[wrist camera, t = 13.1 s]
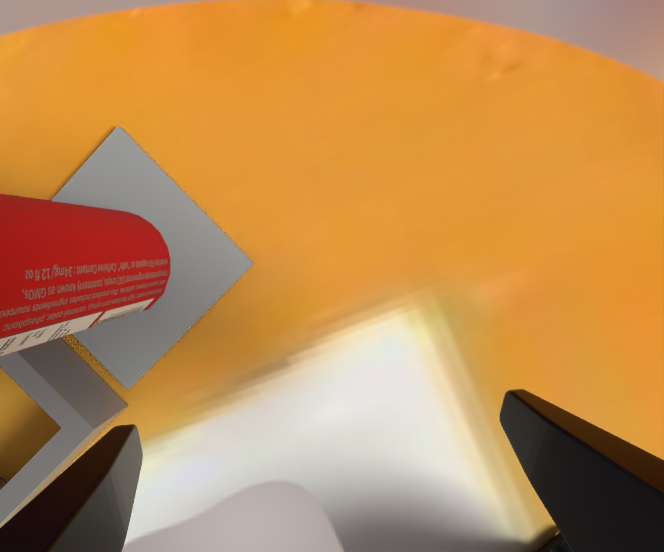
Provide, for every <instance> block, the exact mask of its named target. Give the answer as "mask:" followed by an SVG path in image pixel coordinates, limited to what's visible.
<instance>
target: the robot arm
mask: <svg viewBox="0 0 664 552" xmlns="http://www.w3.org/2000/svg"><path fill="white" fill-rule="evenodd" d="M500 422H501V425H502V427H503V429H504V431H505V433H506V435H507V437H508V439H509V441H510V443H511V445H512V447H513V449H514V452H515V454H516V456H517V458H518V460H519V462H520V464H521V466H522V468H523V470H524V472H525V474H526V475H527V477H528V479H529V481H530V483H531V485H532V486H533V488H534V490H535V491H536V493H537V495H538V496H539V498H540V499H541V501H542V503H543V504H544V506H545V508H546V509H547V511H548V513H549V514H550V516H551V517H552V519H553V521H554V522H555V524H556V526H557V527H558V529H559V531H560V533H559V534H558V535H556V536H555V537H554V538H553V539H551V540H550V541H549V542H548V543H546V544H545V545H544V546H543V547H541V548H540V549H539V550H538V551H536V552H664V460H662V459H660V458H658V457H656V456H654V455H652V454H650V453H648V452H646V451H644V450H642V449H640V448H639V447H637V446H635V445H633V444H631V443H629V442H627V441H625V440H623V439H621V438H619V437H617V436H615V435H613V434H611V433H609V432H607V431H605V430H603V429H601V428H599V427H597V426H595V425H593V424H591V423H589V422H587V421H585V420H583V419H581V418H579V417H577V416H575V415H573V414H571V413H569V412H567V411H565V410H563V409H561V408H559V407H557V406H555V405H553V404H551V403H549V402H547V401H545V400H544V399H542V398H540V397H538V396H536V395H534V394H532V393H530V392H528V391H526V390H523V389H516V390H509V391H507V392H506V393H505V396H504V400H503V403H502V407H501V411H500ZM142 456H143V455H142V448H141V443H140V438H139V433H138V429H137V427H136V425H133V424H131V425H120V426H116V427H114V428H112V429H111V430H110V431H109V432H108V433H107V434H106V435H104V436H103V437H102V438H101V439H100V440H99V441H98V442H97V443H95V444H94V445H93V446H92V447H91V448H90V449H89V450H88V451H86V452H85V453H84V454H83V455H82V456H81V457H80V458H78V459H77V460H76V461H75V462H74V463H73V464H72V465H71V466H69V467H68V468H67V469H66V470H65V471H64V472H63V473H62V474H60V475H59V476H58V477H57V478H56V479H55V480H54V481H52V482H51V483H50V484H49V485H48V486H47V487H46V488H45V489H43V490H42V491H41V492H40V493H39V494H38V495H37V496H36V497H34V498H33V499H32V500H31V501H30V502H29V503H28V504H26V505H25V506H24V507H23V508H22V509H21V510H20V511H19V512H17V513H16V514H15V515H14V516H13V517H12V518H11V519H10V520H8V521H7V522H6V523H5V524H4V525H3V526H2V527H1V528H0V552H122V548H123V545H124V542H125V538H126V535H127V530H128V526H129V521H130V517H131V512H132V507H133V503H134V498H135V493H136V489H137V484H138V479H139V474H140V470H141V465H142Z"/></svg>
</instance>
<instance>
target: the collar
mask: <svg viewBox="0 0 664 552" xmlns="http://www.w3.org/2000/svg"><path fill="white" fill-rule="evenodd" d="M0 367H1V368H2V369H3V370H4V371H5V372H6V373H7V374H8V375H9V376H10V377H11V378H12V379H13V380H14V381H15V382H16V383H17V384H18V385H19V386H20V387H21V388H22V389H23V390H24V391H25V392H26V393H27V394H28V395H29V396H30V397H31V398H32V399H33V400H34V401H35V402H36V403H37V404H38V405H39V406H40V407H41V408H42V409H43V410H44V411H45V412H46V413H47V414H48V415H49V416H50V417H51V418H52V419H53V420H54V421H55V422H56V423H57V424H58V425H59V426H60V427H61V429H60V430H59V431H58V432H57V433H56V434H55V435H54V436H53V437H52V438H51V439H50V440H49V441H48V442H47V443H46V444H45V445H44V446H43V447H42V448H41V449H40V450H39V451H38V452H37V453H36V454H35V455H34V456H33V457H32V458H31V459H30V460H29V461H28V462H27V463H26V464H25V465H24V466H23V468H22V469H21V470H20V471H19V472H18V473H17V474H16V475H15V476H14V477H13V478H12V479H11V480H10V481H9V482H8V483H7V484H6V483H5V482H4V481H3V480H2V479H1V478H0V528H1V527H2V526H3V525H4V524H5V523H6V522H7V521H8V520H10V519H11V518H12V517H13V516H14V515H15V514H16V513H17V512H19V511H20V510H21V509H22V508H23V507H24V506H25V505H26V504H28V503H29V502H30V501H31V500H32V499H33V498H34V497H36V496H37V495H38V494H39V493H40V492H41V491H42V490H43V489H45V488H46V487H47V486H48V485H49V484H50V483H51V482H52V481H53V480H54V479H55V478H56V477H57V476H58V475H59V474H60V473H61V472H62V471H63V470H64V469H65V468H66V467H67V466H68V465H69V464H70V463H71V462H72V461H73V460H74V459H75V458H76V457H77V456H78V455H79V454H80V453H81V452H82V451H83V450H84V449H85V448H86V447H87V446H88V445H89V444H90V443H91V442H92V441H93V440H94V439H95V438H96V437H97V436H98V435H99V434H100V433H101V432H102V431H103V430H104V429H105V428H106V427H107V426H108V425H109V424H110V423H111V422H112V421H113V420H114V419H115V418H116V417H117V416H118V415H119V414H120V413H121V412H122V411H123V410H124V409H125V408H126V407H127V406H128V404H127V403H126V402H125V401H124V400H123V399H122V398H121V397H120V396H119V395H118V394H117V393H116V392H115V391H114V390H113V389H112V388H111V387H110V386H109V385H108V384H107V383H106V382H105V381H104V380H103V379H102V378H101V377H100V376H99V375H98V374H97V373H96V372H95V371H94V370H93V369H92V368H91V367H90V366H89V365H88V364H87V363H86V362H85V361H84V360H83V359H82V358H81V357H80V356H79V355H78V354H77V353H76V352H75V351H74V350H73V349H72V348H71V347H70V346H69V345H68V344H67V343H66V342H65V341H64V340H63V339H62V338H61V337H60V338H56V339H53V340H50V341H47V342H44V343H41V344H38V345H34V346H31V347H28V348H25V349H22V350H19V351H15V352H12V353H9V354H6V355H3V356H0Z"/></svg>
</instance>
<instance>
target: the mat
mask: <svg viewBox="0 0 664 552" xmlns="http://www.w3.org/2000/svg"><path fill="white" fill-rule="evenodd" d="M51 201H55V202H62V203H69V204H77V205H84V206H91V207H98V208H105V209H112V210H119V211H126V212H130V213H133V214H136V215H139V216H141V217H142V218H144V219H145V220H147V221H148V222H150V223H151V224H152V225H153V226H154V227H155V228H156V229H157V230H158V231H159V232H160V234H161V235H162V237H163V239H164V241H165V243H166V245H167V247H168V251H169V255H170V276H169V279H168V282H167V285H166V288H165V291H164V294H163V295H162V296H161V297H160V298H159V299H158V300H157V301H156V302H155V303H154V304H153V305H152V306H151V307H150V308H149V309H148V310H145V311H142V312H138V313H135V314H132V315H129V316H126V317H123V318H120V319H116V320H113V321H110V322H107V323H104V324H101V325H97V326H94V327H91V328H88V329H85V330H82V331H79V332H75V333H72V335H73V336H74V337H75V338H76V339H77V340H78V341H79V342H80V343H81V344H82V345H83V346H84V347H85V348H86V349H87V350H88V351H89V352H90V353H91V354H92V355H93V356H94V357H95V358H96V359H97V360H98V361H99V362H100V363H101V364H102V365H103V366H104V367H105V368H106V369H107V370H108V371H109V372H110V373H111V374H112V375H113V376H114V377H115V378H116V379H117V380H118V381H119V382H120V383H121V384H122V385H123V386H124V387H125V388H126V389H127V390H128V389H129V388H131V387H132V386H133V385H134V384H135V383H136V382H137V381H138V380H139V379H140V378H141V377H142V376H143V375H144V374H145V373H146V372H147V371H148V370H149V369H150V368H151V367H152V366H153V365H154V364H155V363H156V362H157V361H158V360H159V359H160V358H161V357H162V356H163V355H164V354H165V353H166V352H167V351H168V350H169V349H170V348H171V347H172V346H173V345H174V344H175V343H176V342H177V341H178V340H179V339H180V338H181V337H182V336H183V335H184V334H185V333H186V332H187V331H188V330H189V329H190V328H191V327H192V326H193V325H194V324H195V323H196V322H197V321H198V320H199V319H200V318H201V317H202V316H203V315H204V314H205V313H206V312H207V311H208V310H209V309H210V308H211V307H212V306H213V305H214V304H215V303H216V302H217V300H218V299H219V298H220V297H221V296H222V295H223V294H224V293H225V292H226V291H227V290H228V289H229V288H230V287H231V286H232V285H233V284H234V283H235V282H236V281H237V280H238V279H239V278H240V277H241V276H242V275H243V274H244V273H245V272H246V271H247V270H248V269H249V268H250V267H251V266H252V265H253V264H254V262H253V261H252V260H251V259H250V258H249V257H248V256H247V255H246V254H245V253H244V252H243V251H242V250H241V249H240V248H239V247H238V246H237V245H236V244H235V243H234V242H233V241H232V240H231V239H230V238H229V237H228V236H227V235H226V234H225V233H224V232H223V231H222V230H221V229H220V228H219V227H218V226H217V225H216V223H215V222H214V221H213V220H212V219H211V218H210V217H209V216H208V215H207V214H206V213H205V212H204V211H203V210H202V209H201V208H200V207H199V206H198V205H197V204H196V203H195V202H194V201H193V200H192V199H191V198H190V197H189V196H188V195H187V194H186V193H185V192H184V191H183V190H182V189H181V188H180V187H179V186H178V185H177V184H176V183H175V182H174V181H173V180H172V179H171V178H170V176H169V175H168V174H167V173H166V172H165V171H164V170H163V169H162V168H161V167H160V166H159V165H158V164H157V163H156V162H155V161H154V160H153V159H152V158H151V157H150V156H149V155H148V154H147V153H146V152H145V151H144V150H143V149H142V148H141V147H140V146H139V145H138V144H137V143H136V142H135V141H134V140H133V139H132V138H131V137H130V136H129V135H128V134H127V133H126V132H125V130H124V129H123V128H121V127H119V126H117V127H116V128H115V129H114V130H113V132H112V133H111V134H110V135H109V136H108V137H107V138H106V139H105V141H104V142H103V143H102V144H101V145H100V146H99V147H98V148H97V149H96V151H95V152H94V153H93V154H92V155H91V156H90V157H89V158H88V160H87V161H86V162H85V163H84V164H83V165H82V166H81V167H80V168H79V170H78V171H77V172H76V173H75V174H74V175H73V176H72V177H71V179H70V180H69V181H68V182H67V183H66V184H65V185H64V186H63V188H62V189H61V190H60V191H59V192H58V193H57V194H56V195H55V196H54V198H53V199H52V200H51Z"/></svg>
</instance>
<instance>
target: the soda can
mask: <svg viewBox="0 0 664 552" xmlns="http://www.w3.org/2000/svg"><path fill="white" fill-rule="evenodd" d="M169 276H170V255H169V251H168V247H167V245H166V243H165V241H164V239H163V237H162V235H161V234H160V232H159V231H158V230H157V229H156V228H155V227H154V226H153V225H152V224H151V223H150V222H148V221H147V220H145V219H144V218H142V217H141V216H139V215H136V214H133V213H130V212H126V211H119V210H112V209H105V208H98V207H91V206H84V205H77V204H69V203H62V202H55V201H48V200H41V199H34V198H27V197H20V196H13V195H5V194H0V356H3V355H6V354H9V353H12V352H15V351H19V350H22V349H25V348H28V347H31V346H34V345H38V344H41V343H44V342H47V341H50V340H53V339H56V338H60V337H63V336H66V335H69V334H72V333H75V332H79V331H82V330H85V329H88V328H91V327H94V326H97V325H101V324H104V323H107V322H110V321H113V320H116V319H120V318H123V317H126V316H129V315H132V314H135V313H138V312H142V311H145V310H148V309H149V308H150V307H151V306H152V305H153V304H154V303H155V302H156V301H157V300H158V299H159V298H160V297H161V296H162V295H163V294H164V291H165V288H166V285H167V282H168V279H169Z"/></svg>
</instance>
